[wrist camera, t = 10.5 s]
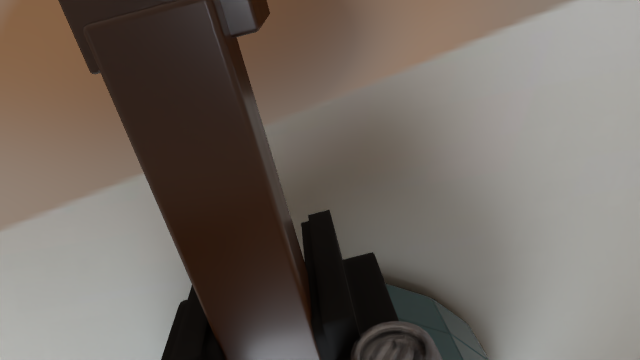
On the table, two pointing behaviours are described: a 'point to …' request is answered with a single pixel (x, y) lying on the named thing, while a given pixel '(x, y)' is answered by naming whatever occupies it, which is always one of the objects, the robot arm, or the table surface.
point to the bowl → (437, 324)
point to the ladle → (206, 161)
